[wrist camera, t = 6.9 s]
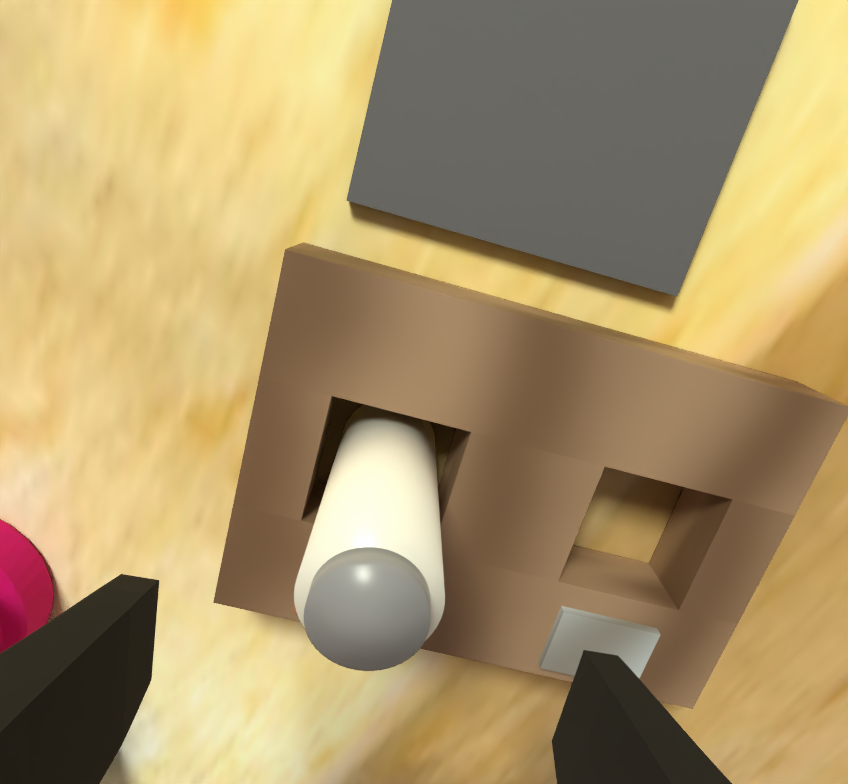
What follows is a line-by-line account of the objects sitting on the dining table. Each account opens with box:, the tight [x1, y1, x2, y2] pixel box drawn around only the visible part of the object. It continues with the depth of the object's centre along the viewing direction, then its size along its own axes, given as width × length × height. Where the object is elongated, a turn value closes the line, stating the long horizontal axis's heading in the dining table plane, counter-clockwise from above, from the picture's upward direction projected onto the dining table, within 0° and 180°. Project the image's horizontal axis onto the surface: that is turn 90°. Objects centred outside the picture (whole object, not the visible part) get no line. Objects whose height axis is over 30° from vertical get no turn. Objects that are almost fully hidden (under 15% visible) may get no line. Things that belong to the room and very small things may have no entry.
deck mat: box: [347, 0, 798, 296], centre depth 16 cm, size 10×8×1 cm
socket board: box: [213, 243, 848, 709], centre depth 18 cm, size 16×11×3 cm
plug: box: [294, 404, 445, 671], centre depth 15 cm, size 3×3×9 cm
